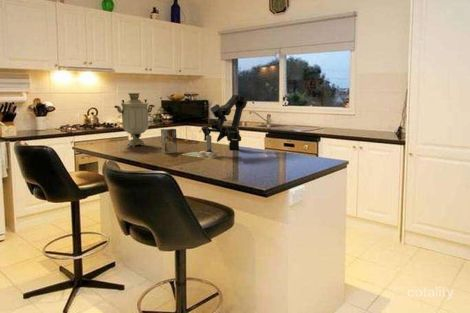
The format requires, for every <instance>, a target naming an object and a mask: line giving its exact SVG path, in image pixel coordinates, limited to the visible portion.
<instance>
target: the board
mask: <svg viewBox="0 0 470 313" xmlns="http://www.w3.org/2000/svg"><path fill="white" fill-rule="evenodd" d="M181 155H183V156H189V157H195V158H196V157H197V158H201V159H203V158H204V159H216V158H219V157H222V155H220V151H219V150H214V149H212V152H207V149H206V150H202V151H199V152H197V151H191V152H187V153H182V154H181Z"/></svg>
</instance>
